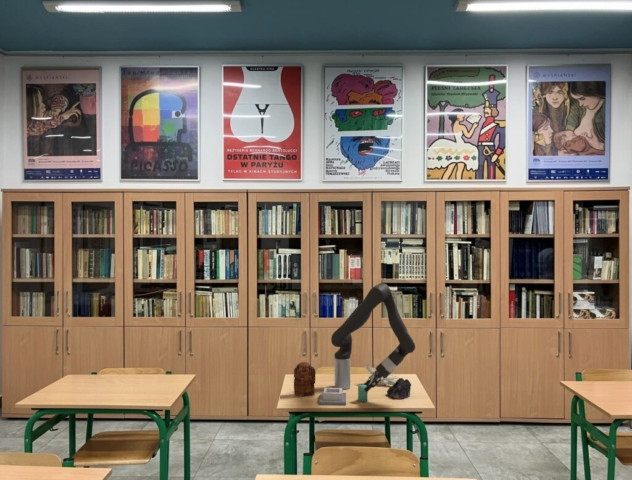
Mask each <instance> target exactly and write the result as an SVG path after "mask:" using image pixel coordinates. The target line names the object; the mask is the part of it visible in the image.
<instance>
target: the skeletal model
mask: <svg viewBox="0 0 632 480" xmlns="http://www.w3.org/2000/svg"><path fill="white" fill-rule="evenodd" d="M364 367H365V369H366V370H367V371H368V372H369V373H370V374H371V375H372V374H373V373H374V372H375V371H376V369H374V368H373V366H372V365H371V364H370V363H367V364H366V365H365V366H364ZM380 379H381V381H380V382H379V383H382V384H383V385H385V386H386V385H388V386H389V385H390V386H393V385H394V384H395V383H396V381H397V380H398V379H399V376H398V377H397V376H396V375H393V374H390V376H388V377H386V378H383V377H381V378H380Z"/></svg>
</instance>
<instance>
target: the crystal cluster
mask: <svg viewBox="0 0 632 480" xmlns="http://www.w3.org/2000/svg"><path fill="white" fill-rule="evenodd" d="M395 381H396V383H395V384H394V385H390V386H389V388H388V389H387V390H386V394H387V395H388V396H389V397H391V398H394V399H397V400H400V399H401V400H402V399H406V398H410V397H411V387H412V383H411V381H409V379H407V378H406V379H404V378H403V377H398V379H396V380H395Z"/></svg>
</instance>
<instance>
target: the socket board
mask: <svg viewBox="0 0 632 480" xmlns="http://www.w3.org/2000/svg"><path fill="white" fill-rule="evenodd" d="M318 401H319V403H318V405H319V406H346V405H347V393H346V392H343V389H342V388H335V387H323V392H322V391H321V392H320V395H319V399H318Z"/></svg>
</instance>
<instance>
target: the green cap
mask: <svg viewBox="0 0 632 480" xmlns="http://www.w3.org/2000/svg"><path fill="white" fill-rule="evenodd" d="M366 386H367V385H364V384H358V385H357V401H358V402H359V403H368V400H369V399H368V392H366V391H365V390H364V388H365V387H366Z"/></svg>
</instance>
